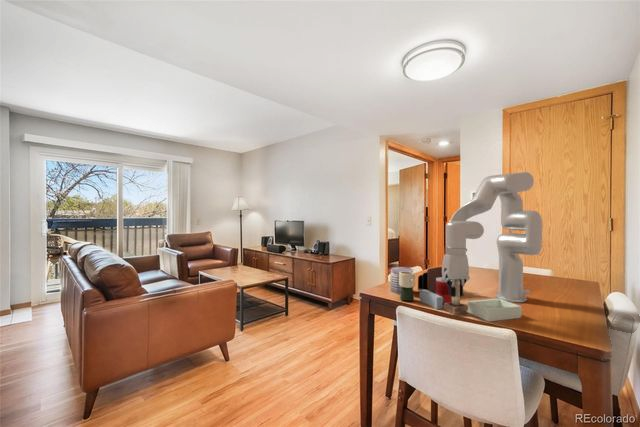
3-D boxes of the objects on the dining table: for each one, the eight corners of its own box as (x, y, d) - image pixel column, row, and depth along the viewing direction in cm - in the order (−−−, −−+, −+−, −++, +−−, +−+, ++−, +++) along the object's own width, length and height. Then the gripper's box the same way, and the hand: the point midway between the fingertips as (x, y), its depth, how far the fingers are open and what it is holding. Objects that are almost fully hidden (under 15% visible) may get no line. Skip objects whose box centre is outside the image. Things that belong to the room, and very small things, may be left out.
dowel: (456, 308, 116) (456, 277, 116) (461, 311, 113) (461, 279, 113) (450, 309, 115) (450, 278, 115) (455, 311, 112) (455, 280, 112)
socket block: (456, 308, 117) (456, 301, 117) (466, 313, 112) (466, 306, 112) (444, 310, 116) (444, 303, 116) (454, 315, 110) (454, 307, 110)
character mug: (420, 303, 124) (420, 274, 124) (406, 304, 123) (406, 275, 123) (407, 296, 135) (407, 269, 135) (394, 297, 133) (394, 270, 133)
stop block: (425, 300, 129) (425, 289, 129) (442, 308, 117) (442, 297, 117) (419, 300, 128) (419, 289, 128) (436, 309, 117) (436, 297, 117)
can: (417, 294, 138) (417, 270, 138) (396, 295, 136) (397, 271, 136) (405, 288, 149) (405, 266, 149) (386, 289, 147) (386, 267, 147)
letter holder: (463, 293, 140) (463, 266, 140) (427, 295, 136) (428, 267, 136) (450, 288, 150) (451, 262, 150) (417, 290, 146) (417, 263, 146)
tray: (498, 308, 117) (498, 298, 117) (521, 317, 108) (521, 306, 108) (467, 312, 113) (468, 301, 113) (488, 321, 104) (488, 309, 104)
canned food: (457, 306, 120) (457, 281, 120) (437, 305, 122) (437, 280, 122) (452, 301, 128) (452, 277, 128) (434, 299, 129) (434, 276, 129)
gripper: (465, 249, 119) (465, 291, 119) (432, 251, 115) (433, 294, 115) (479, 252, 112) (479, 296, 112) (445, 253, 108) (445, 300, 108)
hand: (455, 295), depth 114 cm, fingers closed on dowel, 3 cm apart
